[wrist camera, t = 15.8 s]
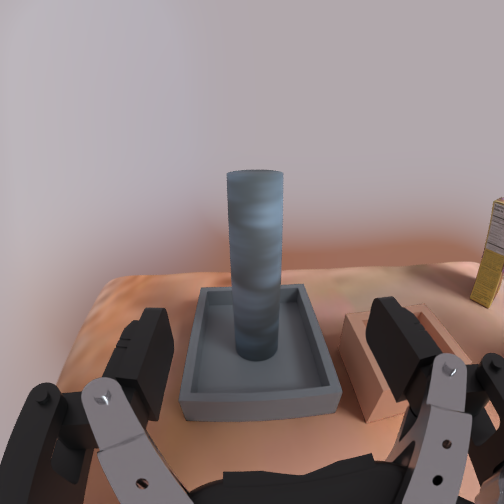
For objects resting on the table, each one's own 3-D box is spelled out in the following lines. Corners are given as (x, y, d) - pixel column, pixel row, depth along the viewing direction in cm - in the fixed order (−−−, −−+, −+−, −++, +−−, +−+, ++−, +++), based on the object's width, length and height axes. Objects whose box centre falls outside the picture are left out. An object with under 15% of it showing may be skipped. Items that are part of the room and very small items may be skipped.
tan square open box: (412, 336, 26) (424, 303, 24) (451, 395, 18) (472, 362, 16) (338, 348, 26) (345, 313, 24) (366, 423, 18) (383, 391, 16)
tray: (301, 304, 34) (303, 283, 32) (334, 412, 19) (342, 391, 18) (203, 308, 33) (201, 287, 32) (186, 420, 19) (178, 400, 17)
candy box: (480, 280, 35) (501, 195, 29) (499, 290, 32) (522, 203, 26) (467, 298, 32) (493, 199, 25) (488, 309, 28) (518, 208, 22)
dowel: (275, 332, 27) (279, 169, 21) (279, 360, 24) (287, 176, 17) (236, 334, 27) (228, 170, 21) (235, 362, 24) (225, 177, 17)
